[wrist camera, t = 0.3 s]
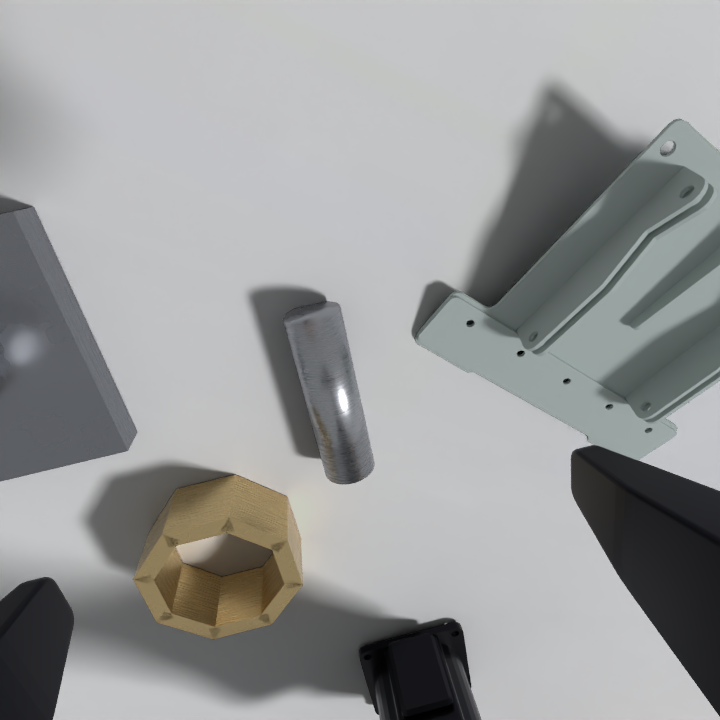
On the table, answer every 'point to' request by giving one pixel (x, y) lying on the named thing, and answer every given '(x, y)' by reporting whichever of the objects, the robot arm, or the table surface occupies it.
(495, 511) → the table surface
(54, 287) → the square base plate
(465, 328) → the metal bracket
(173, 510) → the collar ring
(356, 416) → the steel pin
